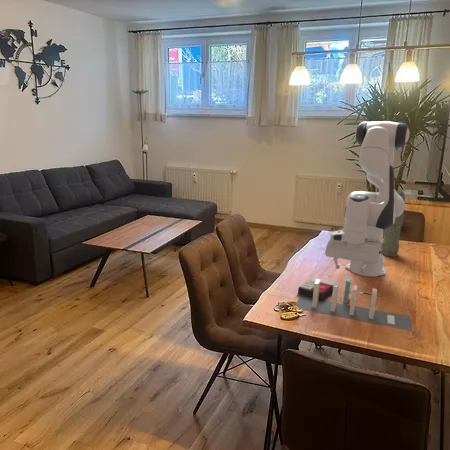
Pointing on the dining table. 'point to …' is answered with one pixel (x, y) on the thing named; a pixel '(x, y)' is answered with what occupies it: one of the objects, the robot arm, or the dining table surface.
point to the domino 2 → (334, 296)
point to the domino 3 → (347, 289)
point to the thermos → (393, 234)
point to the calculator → (324, 289)
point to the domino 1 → (316, 293)
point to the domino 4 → (353, 300)
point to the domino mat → (357, 313)
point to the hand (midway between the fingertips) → (349, 270)
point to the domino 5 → (372, 303)
